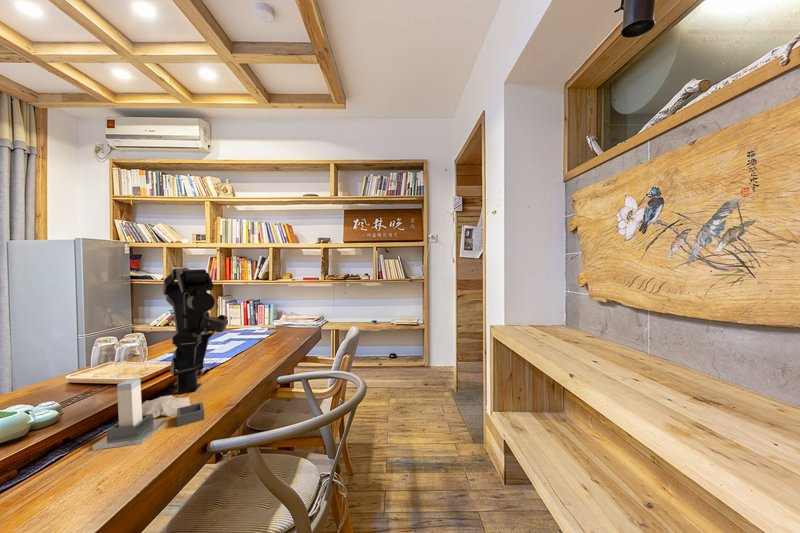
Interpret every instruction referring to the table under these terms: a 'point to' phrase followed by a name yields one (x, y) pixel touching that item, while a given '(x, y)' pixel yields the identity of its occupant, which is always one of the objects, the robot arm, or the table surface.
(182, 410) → the grey hollow square frame
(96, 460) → the table surface
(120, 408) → the plug
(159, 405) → the decorative stone
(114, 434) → the port
